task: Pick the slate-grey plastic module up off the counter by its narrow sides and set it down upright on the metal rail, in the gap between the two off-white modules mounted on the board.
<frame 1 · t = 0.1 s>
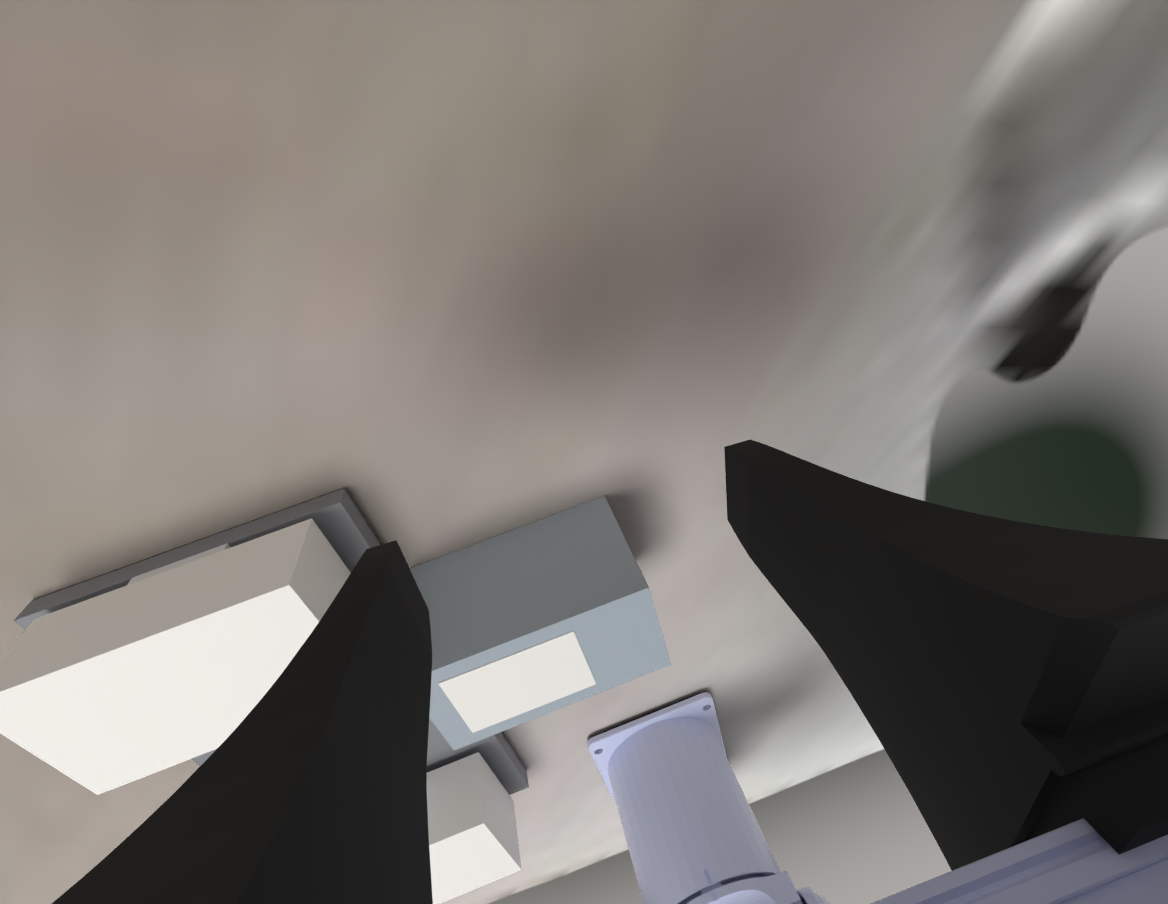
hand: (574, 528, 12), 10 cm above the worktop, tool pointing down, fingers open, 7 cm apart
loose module: (524, 565, 25), on the worktop
rail board: (337, 705, 26), on the worktop
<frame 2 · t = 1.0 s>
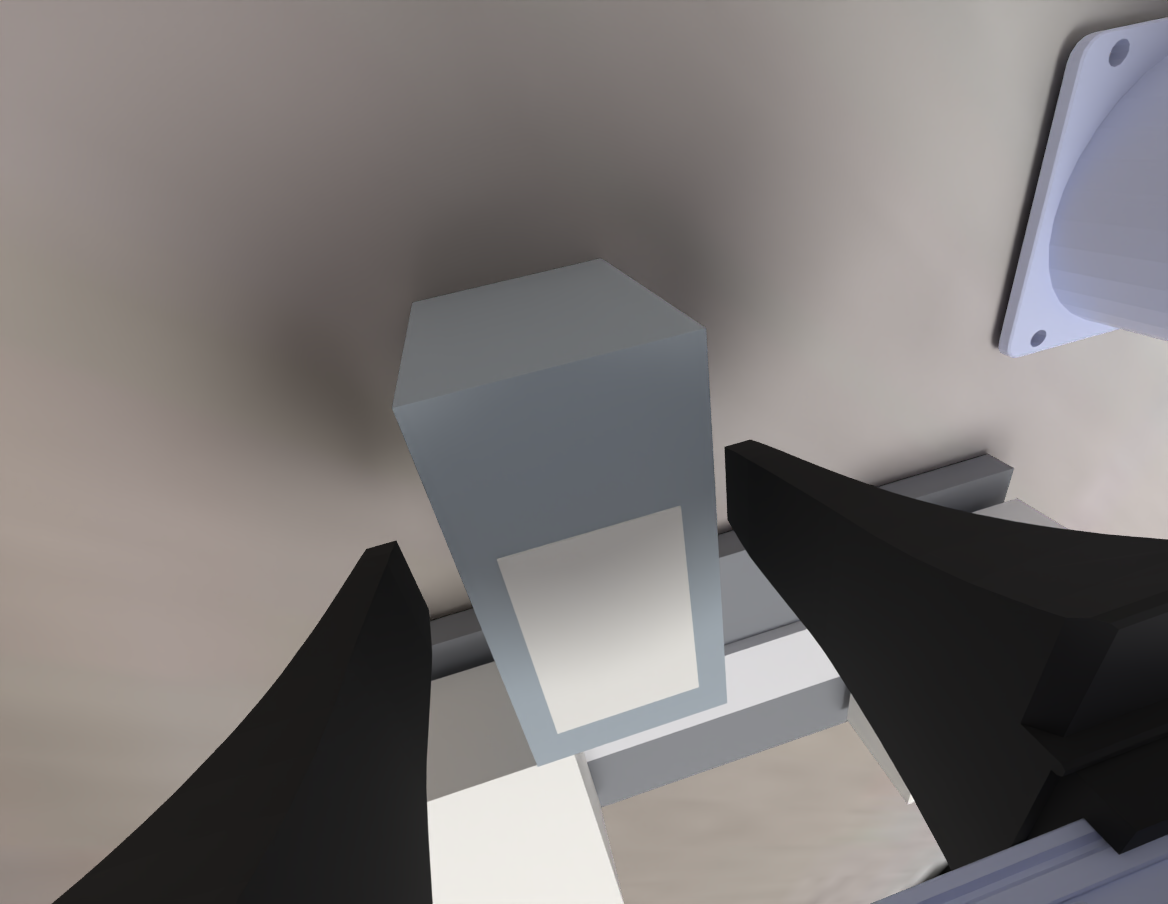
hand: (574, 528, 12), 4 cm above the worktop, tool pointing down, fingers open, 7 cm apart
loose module: (548, 442, 15), on the worktop
rail board: (706, 657, 21), on the worktop
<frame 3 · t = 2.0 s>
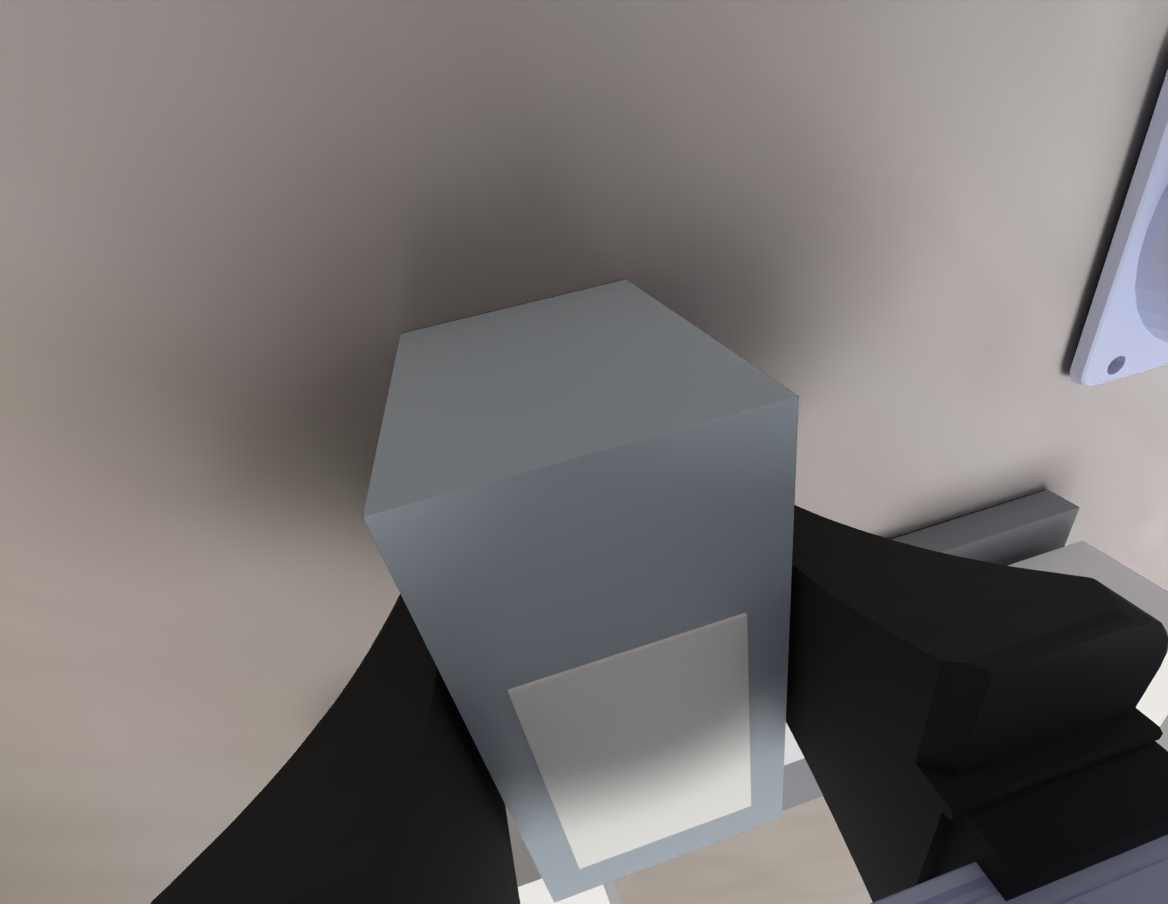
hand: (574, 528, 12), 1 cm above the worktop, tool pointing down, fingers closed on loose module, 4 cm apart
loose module: (561, 491, 13), on the worktop, touching gripper
rail board: (731, 711, 19), on the worktop
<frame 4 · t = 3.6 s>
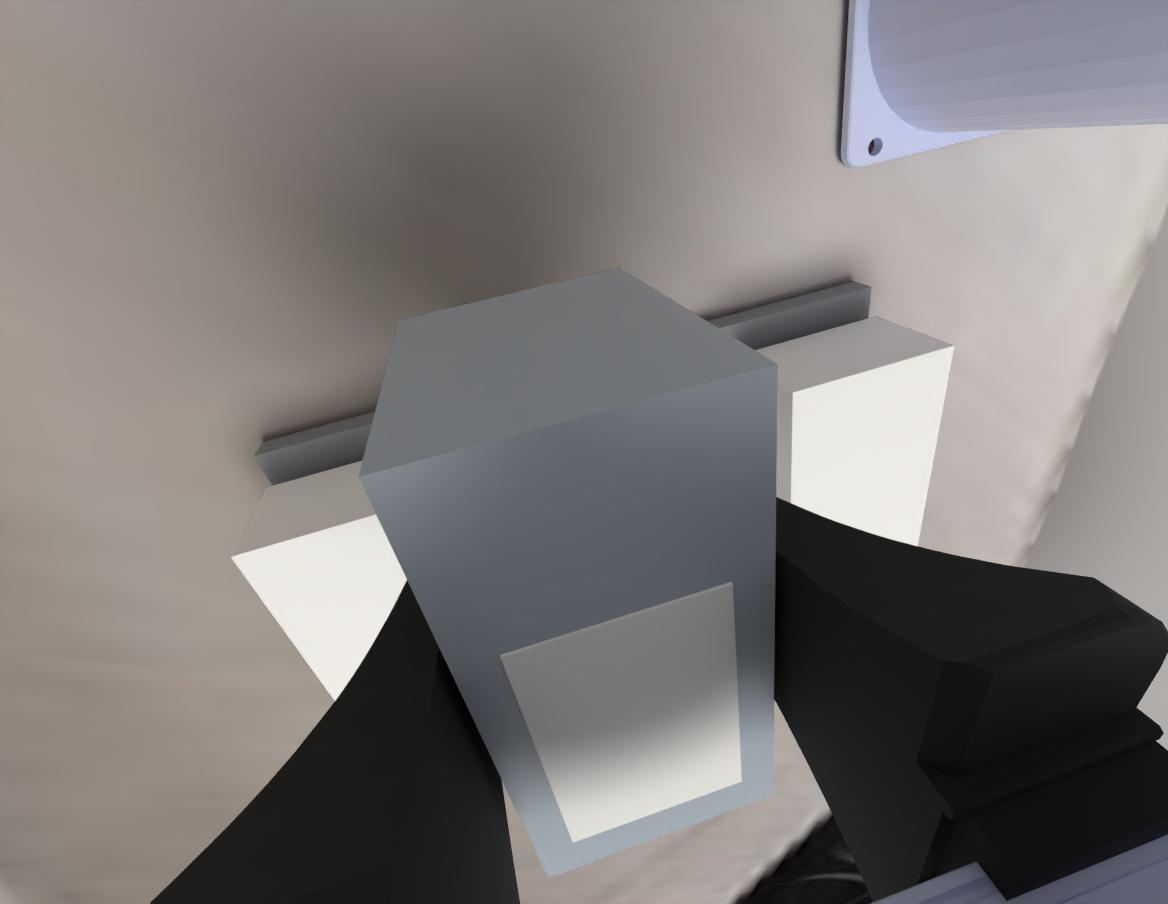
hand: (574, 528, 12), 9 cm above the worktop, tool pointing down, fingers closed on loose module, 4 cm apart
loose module: (556, 478, 13), point 7 cm above the worktop, touching gripper
rail board: (603, 490, 22), on the worktop
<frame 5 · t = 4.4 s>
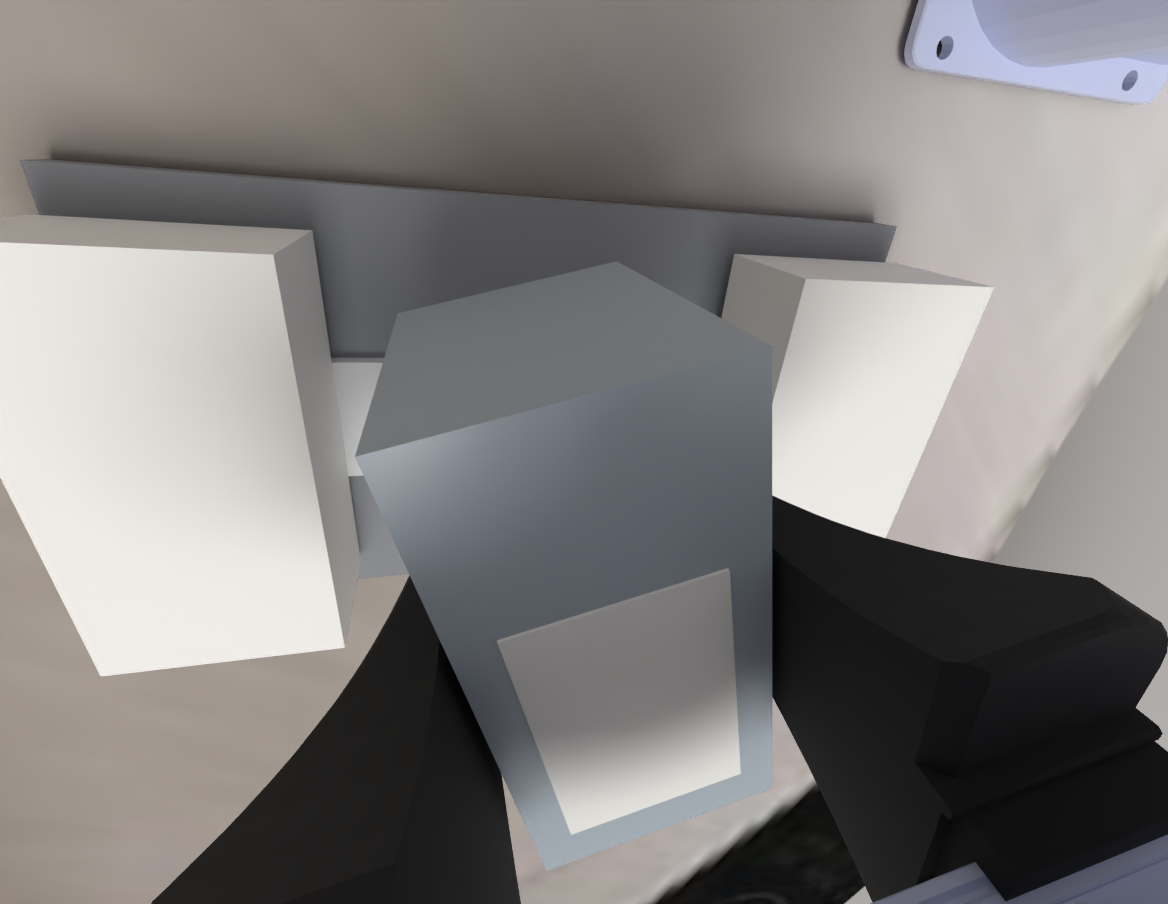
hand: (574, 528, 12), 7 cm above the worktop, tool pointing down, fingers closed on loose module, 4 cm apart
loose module: (555, 472, 13), point 5 cm above the worktop, touching gripper
rail board: (529, 399, 17), on the worktop
when the fingers open (4 cm above the worktop, at t = 5.3 s): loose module drops 1 cm, resting on rail board.
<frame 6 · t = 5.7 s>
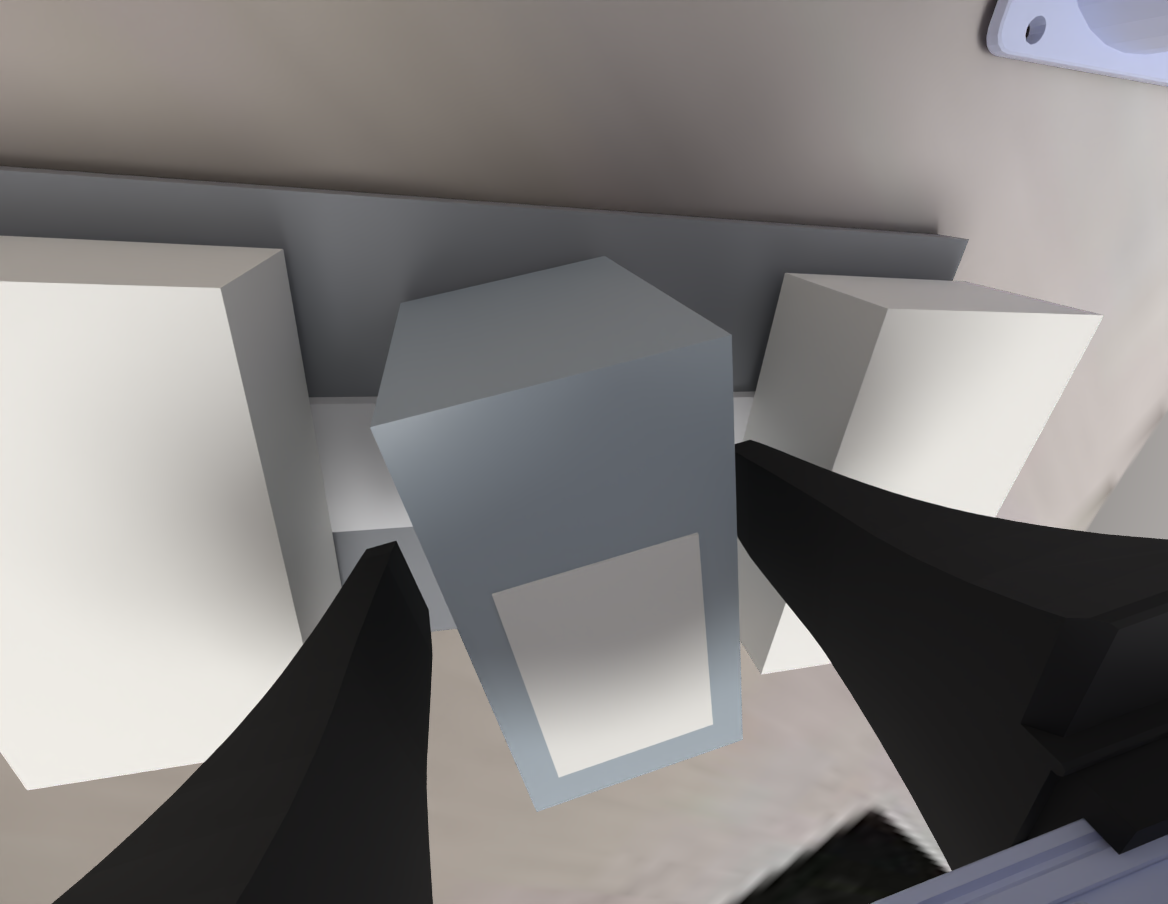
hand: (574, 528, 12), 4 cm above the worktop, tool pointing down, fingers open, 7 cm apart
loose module: (547, 454, 14), point 1 cm above the worktop, touching rail board
rail board: (541, 438, 15), on the worktop
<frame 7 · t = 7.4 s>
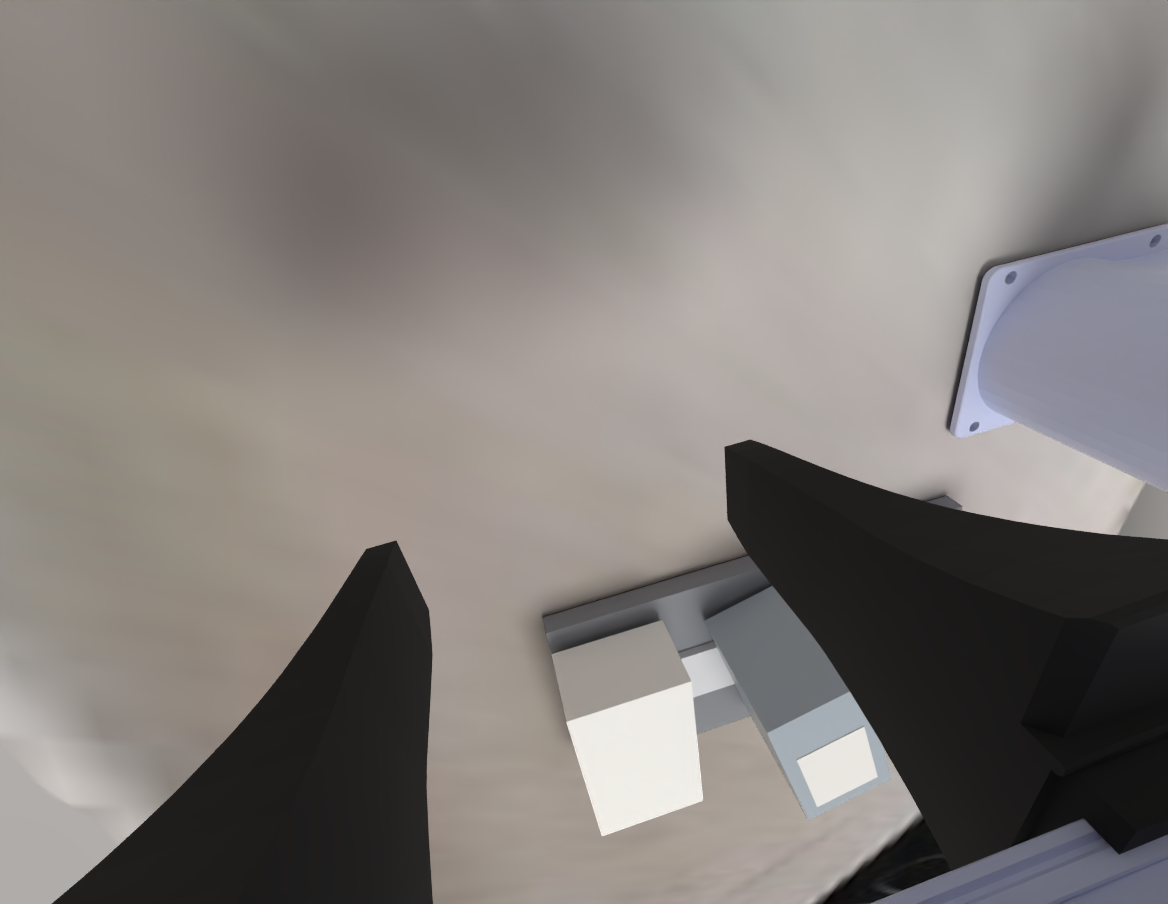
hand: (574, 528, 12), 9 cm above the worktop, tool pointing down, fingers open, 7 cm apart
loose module: (765, 650, 29), point 1 cm above the worktop, touching rail board
rail board: (753, 633, 30), on the worktop
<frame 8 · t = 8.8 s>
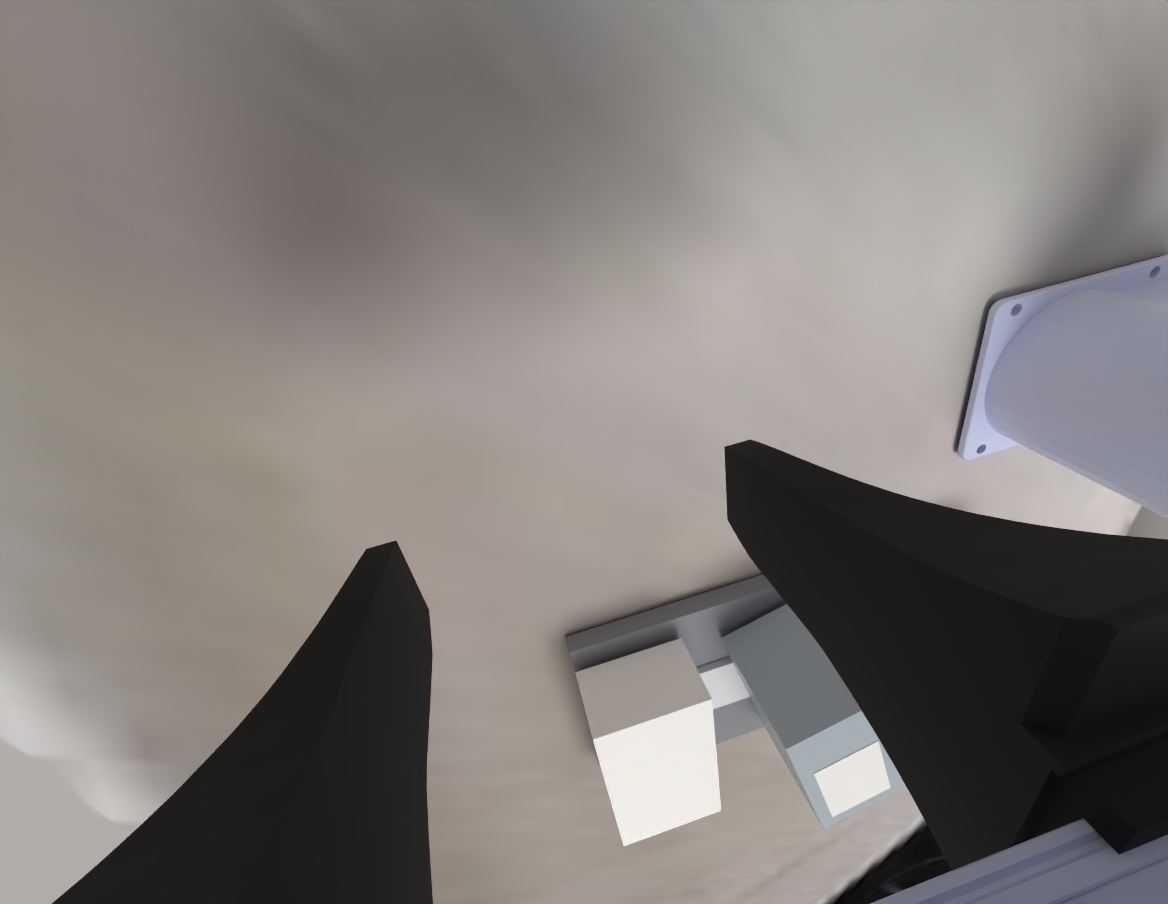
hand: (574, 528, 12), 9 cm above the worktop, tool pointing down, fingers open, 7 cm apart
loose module: (779, 664, 30), point 1 cm above the worktop, touching rail board
rail board: (767, 647, 31), on the worktop
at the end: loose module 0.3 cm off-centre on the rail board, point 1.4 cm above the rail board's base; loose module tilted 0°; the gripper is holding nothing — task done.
